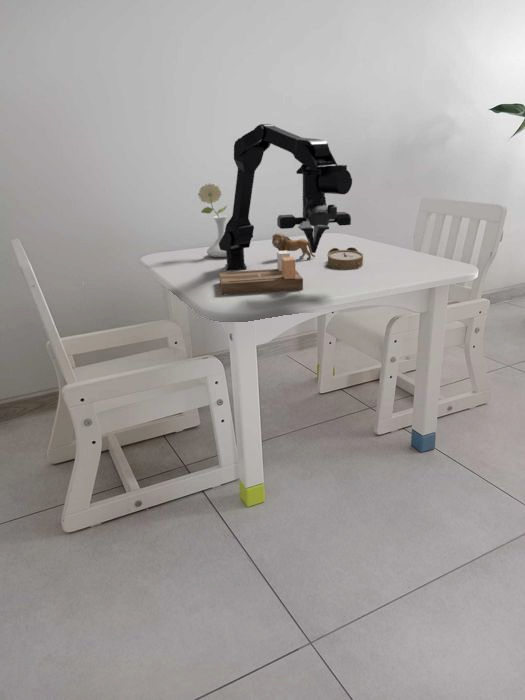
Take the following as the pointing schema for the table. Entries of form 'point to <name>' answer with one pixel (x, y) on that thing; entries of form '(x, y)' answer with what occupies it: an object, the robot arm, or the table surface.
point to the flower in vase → (212, 195)
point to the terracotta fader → (288, 268)
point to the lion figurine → (291, 245)
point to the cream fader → (279, 258)
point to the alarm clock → (345, 258)
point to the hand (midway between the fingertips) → (313, 252)
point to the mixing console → (258, 281)
